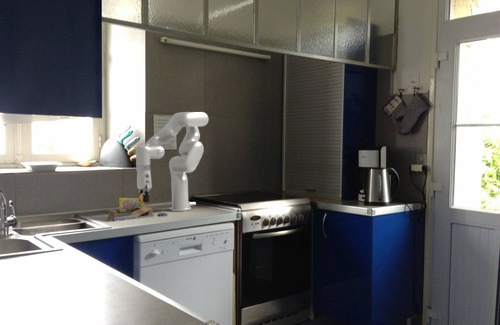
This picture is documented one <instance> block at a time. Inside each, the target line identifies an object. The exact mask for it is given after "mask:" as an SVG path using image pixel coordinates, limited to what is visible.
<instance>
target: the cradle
mask: <svg viewBox="0 0 500 325" xmlns="http://www.w3.org/2000/svg"><path fill="white" fill-rule="evenodd" d="M157 216H159V217H167V216H168V213H166V212H160V213H159V212H158V213H157Z"/></svg>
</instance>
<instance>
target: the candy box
mask: <svg viewBox="0 0 500 325" xmlns="http://www.w3.org/2000/svg"><path fill="white" fill-rule="evenodd" d="M118 203H119V204H118V205H119V213H132V212H134V211H136V210H138V209H140V208H142V207H143V206H145V203H146V202H142V201H139V197H138V198H137V197H136V198H135V197H134V198H133V197H120V198H118Z"/></svg>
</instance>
